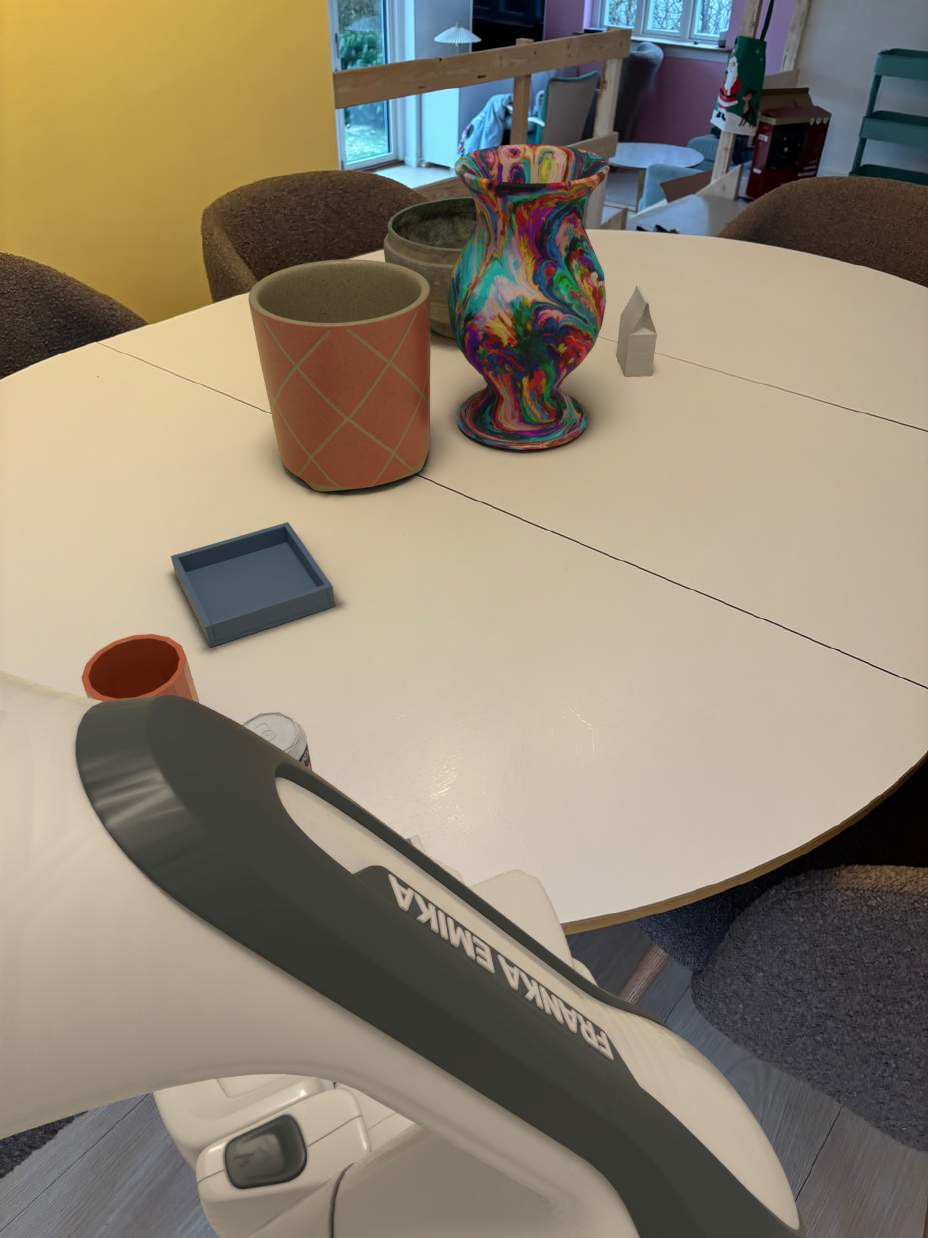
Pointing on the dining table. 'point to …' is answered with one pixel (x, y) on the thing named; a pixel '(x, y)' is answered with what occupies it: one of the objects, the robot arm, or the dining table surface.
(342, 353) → the planter
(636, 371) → the gable top carton
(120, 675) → the terracotta cup
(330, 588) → the tray
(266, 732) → the beer can
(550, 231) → the vase
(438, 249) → the bowl
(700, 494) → the dining table surface
